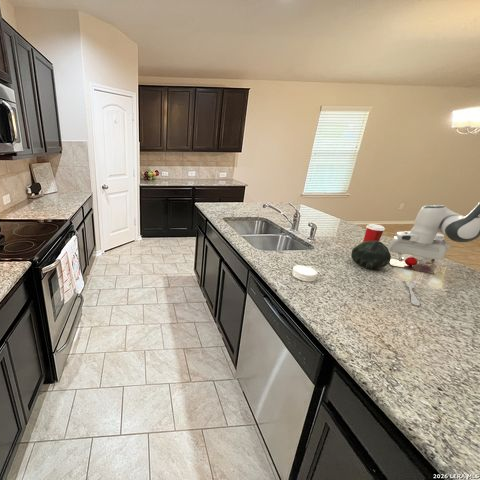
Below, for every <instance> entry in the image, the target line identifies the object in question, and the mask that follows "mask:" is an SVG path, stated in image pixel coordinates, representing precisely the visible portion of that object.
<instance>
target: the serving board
mask: <svg viewBox="0 0 480 480" xmlns="http://www.w3.org/2000/svg"><path fill="white" fill-rule="evenodd" d="M388 264H389V265H390V266H391V267H395V268H400V269H404V270H409V271H416V272H420V273H424V274H430V275H435V273H434V271H433V269H431V267H430V266H429V265H426V264H424V265H423V266H422V265H419V263H417V264H416V265H414V266H409V265H407V264H406V263H405V260H403V262H402V261H399V260H398V259H397V258H396V259H395V258H391V259H390V262H389V263H388Z"/></svg>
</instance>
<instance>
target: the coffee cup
mask: <svg viewBox="0 0 480 480" xmlns="http://www.w3.org/2000/svg"><path fill="white" fill-rule="evenodd" d="M365 228H366V230H365V232H364V237H363V241H362V242H365V241H379V242H380V240H381V238H382V236H383V233H384V231H385V230H386V229H385V227H384V226H383V225H381V224H377V223H369V224H367V225H366V226H365Z"/></svg>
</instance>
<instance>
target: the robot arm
mask: <svg viewBox="0 0 480 480" xmlns="http://www.w3.org/2000/svg"><path fill="white" fill-rule="evenodd" d="M437 233H442V234H443V235H446V236H447V238H448V239H450V240H451V241H453V242H455V243H468V242H473V241H475V240H477V239H479V238H480V201H479V202H478V203H477V204H476V205H475V207H473V209H472V210H471V211H470V212H469V213H468V214H467V215H466V216H465V215H463V214H461V213H457V212H455V211H453V210H451V209H449V208H448V207H447V206H446V205H443V204H427V205H426V204H425V205H423V206H422V207H421V208H420V210H419V211H418V213H417V215H416V217H415V219H414V223H413V226H412V227H411V229H410V230H407V231H406V230H405V231H397V232H396V236H394V237H393V238H392V239H391V240H390V242H389V244H388V247H387V248H388V250H389V252H393V253H397V256H398V259H397V260H399V261H402V262H403V261H405V260H404V259H405V258H404V257H403V254H404V255H409V256H413V257H414V256H420V257H425V259H424V260H423V261H418V264H419V265H422V266H423V265H425V264H427V261H429V260H430V258H431V259H436V260H437V261H442V260H445V258H446V255H447V251H448V250H449V249H450V247H451V244H450V243H449V242H448V241H446V240H444V241H440V240H435V237H436V234H437Z"/></svg>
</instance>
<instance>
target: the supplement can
mask: <svg viewBox="0 0 480 480" xmlns="http://www.w3.org/2000/svg"><path fill="white" fill-rule="evenodd" d="M445 235H446V234H444V233H442V232H438V233H437V234H436V237H435V240H440V241H446V237H445ZM413 258H415V259H417V261H418V262H420V261H423V260H424V259H425V257H420V256H414V255H413ZM436 260H437V259H431V258H430V260H429V261H427V262H426V264H432V263H435V262H436Z"/></svg>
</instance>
